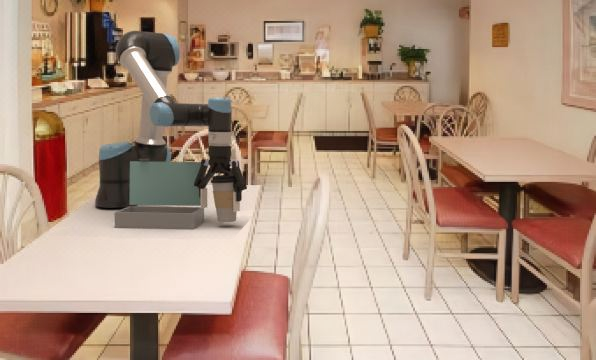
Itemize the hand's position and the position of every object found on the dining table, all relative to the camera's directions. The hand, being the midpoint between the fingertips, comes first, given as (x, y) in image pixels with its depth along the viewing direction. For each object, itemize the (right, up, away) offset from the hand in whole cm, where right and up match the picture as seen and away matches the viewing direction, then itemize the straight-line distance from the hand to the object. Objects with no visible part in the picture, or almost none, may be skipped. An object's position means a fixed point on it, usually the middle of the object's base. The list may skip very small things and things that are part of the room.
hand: (219, 209), depth 205 cm
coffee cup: (+2, -4, -1) cm, 5 cm away
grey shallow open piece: (-20, -5, +2) cm, 21 cm away
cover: (-19, +9, +7) cm, 22 cm away
